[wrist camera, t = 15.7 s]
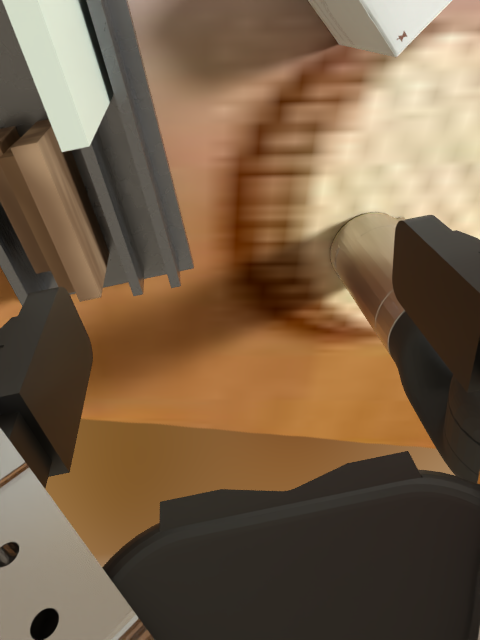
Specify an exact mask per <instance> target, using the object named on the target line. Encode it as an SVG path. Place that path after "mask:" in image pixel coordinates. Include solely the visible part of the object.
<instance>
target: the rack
mask: <svg viewBox="0 0 480 640" xmlns="http://www.w3.org/2000/svg"><path fill="white" fill-rule="evenodd" d="M86 1H87V5H88V8H89V12H90V15H91V18H92V22H93V25H94V28H95V32H96V35H97V39H98V42H99V45H100V49H101V52H102V55H103V59H104V62H105V66H106V69H107V72H108V76H109V79H110V82H111V86H112V89H113V93H114V95H113V97H112V99H111V101H110V104H109V106H108V108H107V110H106V112H105V114H104V116H103V119H102V121H101V123H100V125H99V127H98V129H97V131H96V133H95V136H94V138H93V140H92V142H91V144H90V146H89V147H84V148H79V149H75V150H71V151H72V154H73V157H74V159H75V162H76V165H77V167H78V170H79V173H80V175H81V178H82V181H83V183H84V186H85V189H86V191H87V194H88V197H89V199H90V202H91V205H92V207H93V210H94V213H95V215H96V218H97V221H98V223H99V226H100V229H101V232H102V234H103V237H104V240H105V242H106V245H107V248H108V250H109V258H108V263H107V269H106V274H105V279H104V284H103V287H108V286H113V285H117V284H122V283H127V282H129V285H130V287H131V290H132V293H133V296H137V295H142V294H143V287H144V279H146V278H150V277H155V276H160V275H164V274H167V275H168V278H169V282H170V285H171V288H174V287H179V286H181V282H180V271H183V270H188V269H192V268H194V265H193V260H192V256H191V252H190V248H189V244H188V240H187V236H186V232H185V228H184V224H183V220H182V216H181V212H180V208H179V204H178V200H177V196H176V192H175V188H174V184H173V180H172V176H171V172H170V168H169V164H168V160H167V156H166V152H165V148H164V144H163V140H162V136H161V132H160V128H159V124H158V120H157V116H156V112H155V108H154V104H153V100H152V97H151V93H150V89H149V85H148V81H147V77H146V73H145V69H144V65H143V61H142V57H141V53H140V49H139V45H138V41H137V37H136V33H135V29H134V25H133V21H132V17H131V13H130V9H129V5H128V1H127V0H86ZM46 119H49V118H48V116H47V113H46V111H45V108H44V105H43V103H42V100H41V98H40V95H39V93H38V90H37V88H36V85H35V83H34V80H33V77H32V75H31V72H30V70H29V67H28V65H27V62H26V60H25V57H24V55H23V52H22V49H21V47H20V44H19V42H18V39H17V37H16V34H15V32H14V29H13V27H12V24H11V21H10V19H9V16H8V14H7V11H6V9H5V6H4V4H3V1H2V0H0V129H2V128H7V127H12V126H15V127H16V130H17V132H18V134H19V136H20V137H22V136H23V135H24V134H25V133H26V132H27V131H28V130H29V129H30V128H31V127H32V126H33V125H34V124H35V123H36V122H37V121H41V120H46ZM0 266H1V268H2V270H3V272H4V274H5V276H6V277H7V279H8V281H9V283H10V285H11V286H12V288H13V290H14V292H15V294H16V296H17V297H18V299H19V301H20V303H21V305H22V306H23V304H24V302H25V300H26V298H27V296H28V294H29V293H32V292H37V291H42V290H47V289H52V288H57V287H58V285H57V283H56V281H55V279H54V276H53V274H52V272H51V271H47V272H42V273H37V274H36V272H35V270H34V268H33V266H32V264H31V262H30V260H29V258H28V256H27V254H26V252H25V250H24V248H23V246H22V244H21V242H20V240H19V238H18V236H17V234H16V232H15V230H14V228H13V226H12V224H11V222H10V220H9V218H8V216H7V214H6V212H5V210H4V208H3V206H2V204H1V202H0ZM75 293H76V292H73V293H69V295H71V294H75Z"/></svg>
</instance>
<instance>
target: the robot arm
mask: <svg viewBox="0 0 480 640" xmlns="http://www.w3.org/2000/svg"><path fill="white" fill-rule="evenodd" d="M330 258H331V263H332V265H333V268H334V270H335V271H336V273H337V275H338V276H339V278H340V279H341V280H342V282H343V283H344V285H345V287H346V288H347V290H348V291H349V293H350V294H351V296H352V297H353V299H354V300H355V302H356V303H357V305H358V306H359V308H360V310H361V311H362V313H363V314H364V316H365V317H366V319H367V320H368V322H369V323H370V325H371V326H372V328H373V329H374V331H375V332H376V334H377V335H378V337H379V339H380V340H381V341H382V343H383V345H384V346H385V348H386V349H387V351H388V352H389V354H390V355H391V357H392V359H393V360H394V362H395V363H396V365H397V368H398V371H399V374H400V378H401V382H402V385H403V388H404V391H405V393H406V395H407V397H408V399H409V401H410V403H411V405H412V406H413V408H414V410H415V412H416V413H417V415H418V417H419V419H420V421H421V422H422V424H423V426H424V428H425V429H426V431H427V433H428V435H429V436H430V438H431V440H432V442H433V443H434V445H435V447H436V448H437V450H438V452H439V453H440V455H441V456H442V458H443V459H444V461H445V462H446V464H447V465H448V467H449V468H450V469H451V471H452V472H453V473H454V474H455V475H456V476H454V475H450V474H446V473H441V472H434V471H427V470H418V469H417V468H416V465H415V463H414V461H413V460H412V458H411V456H410V454H409V452H408V451H406V452H401V453H396V454H392V455H386V456H382V457H376V458H372V459H367V460H362V461H357V462H352V463H347V464H345V465H343V466H341V467H339V468H337V469H335V470H333V471H331V472H328V473H326V474H324V475H322V476H320V477H318V478H316V479H314V480H312V481H310V482H308V483H306V484H303V485H301V486H299V487H297V488H295V489H292V490H289V491H254V490H226V489H225V490H223V489H221V490H216V491H211V492H206V493H202V494H196V495H192V496H187V497H182V498H177V499H172V500H167V501H162V502H160V523H159V524H156V525H154V526H152V527H150V528H149V529H147V530H145V531H144V532H142V533H141V534H139V535H137V536H136V537H135V538H133V539H132V540H131V541H129V542H128V543H127V544H126V545H125V546H123V547H122V548H121V549H120V550H119V551H118V552H117V553H116V554H115V555H114V556H113V557H112V558H110V560H109V561H108V562H107V563H106V564H105V565H104V567H101V566H100V564H99V563H98V561H97V560H96V559H95V557H94V556H93V555H92V553H91V552H90V551H89V549H88V548H87V546H86V545H85V543H84V542H83V541H82V540H81V538H80V537H79V535H78V534H77V533H76V531H75V530H74V529H73V527H72V526H71V524H70V523H69V521H68V520H67V519H66V517H65V516H64V515H63V513H62V512H61V510H59V508H58V506H57V505H56V504H55V502H54V501H53V499H52V498H51V497H50V495H49V494H48V493H47V491H46V490H45V487H46V483H47V479H48V477H49V476H54V475H59V474H64V473H69V472H70V467H71V462H72V458H73V453H74V448H75V443H76V438H77V434H78V429H79V424H80V419H81V414H82V410H83V405H84V400H85V395H86V390H87V386H88V381H89V376H90V371H91V366H92V361H93V354H92V347H91V342H90V339H89V337H88V334H87V332H86V330H85V328H84V326H83V323H82V321H81V319H80V317H79V314H78V312H77V310H76V308H75V306H74V303H73V301H72V299H71V297H70V295H69V293H68V291H67V290H66V289H65V288H64V287H57V288H52V289H47V290H42V291H37V292H32V293H29V294H28V296H27V298H26V300H25V302H24V304H23V307H22V309H21V311H20V313H19V315H18V316H17V317H12V318H11V319H10V320H9V321H8V322H7V323H6V324H5V325H4V326H3V327H2V328H0V640H480V240H479V239H478V238H475V237H473V236H470V235H467V234H465V233H462V232H459V231H457V230H456V231H452V230H451V229H449V228H448V227H447V226H446V225H445V224H443V223H442V222H441V221H440V220H439V219H437V218H436V217H435V216H433V215H427V216H422V217H416V218H411V219H405V218H393V217H391V216H389V215H387V214H384V213H374V212H372V213H367V214H363V215H360V216H358V217H355V218H354V219H352V220H351V221H349V222H348V223H347V224H346V225H344V226H343V227H342V228H341V230H340V231H339V232H338V233H337V235H336V237H335V239H334V240H333V243H332V246H331V252H330Z"/></svg>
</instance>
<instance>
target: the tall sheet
mask: <svg viewBox="0 0 480 640" xmlns="http://www.w3.org/2000/svg"><path fill="white" fill-rule="evenodd" d="M2 1H3V4H4V6H5V9H6V11H7V14H8V16H9V19H10V21H11V24H12V27H13V29H14V32H15V34H16V37H17V39H18V42H19V44H20V47H21V49H22V52H23V55H24V57H25V60H26V62H27V65H28V67H29V70H30V72H31V75H32V77H33V80H34V83H35V85H36V88H37V90H38V93H39V95H40V98H41V100H42V103H43V105H44V108H45V111H46V113H47V116H48V118H49V121H50V123H51V126H52V128H53V131H54V133H55V136H56V138H57V141H58V144H59V146H60V149H61V151H62V152H65V151H70V150H75V149H79V148H84V147H89V146H90V144H91V142H92V140H93V138H94V136H95V133H96V131H97V129H98V127H99V125H100V123H101V121H102V119H103V116H104V114H105V112H106V110H107V108H108V106H109V104H110V101H111V99H112V97H113V95H114V93H113V89H112V86H111V82H110V79H109V76H108V72H107V69H106V66H105V62H104V59H103V55H102V52H101V49H100V45H99V42H98V39H97V35H96V32H95V28H94V25H93V22H92V18H91V15H90V12H89V8H88V5H87V1H86V0H2Z"/></svg>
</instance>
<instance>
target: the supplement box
mask: <svg viewBox="0 0 480 640" xmlns="http://www.w3.org/2000/svg"><path fill="white" fill-rule="evenodd" d="M308 1H309V3H310V4H311V6H312V7H313V8H314V10H315V11H316V13H317V14H318V15H319V17H320V18H321V20H322V21H323V23H324V24H325V25H326V27H327V28H328V29H329V31H330V32H331V34H332V35H333V36H334V38H335V39H336V41H337V42H338V44H339V45H344V46H348V47H353V48H357V49H362V50H366V51H371V52H375V53H380V54H384V55H388V56H393V57H397V56H398V55H399V54H400V53H401V52H402V51H403V50H404V49H405V48H406V47H407V46H408V45H409V44H410V43H411V42H412V41H413V40H414V39H415V38H416V37H417V36H418V35H419V33H420V32H421V31H422V30H423V29H424V28H425V27H426V26H427V25H428V24H429V23H430V22H431V21H432V20H433V19H434V18H435V17H436V16H437V15H438V14H439V13H440V12H441V11H442V10H443V9H444V8H445V7H446V6H447V5H448V4H449V3H450V2H451V1H452V0H308Z"/></svg>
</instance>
